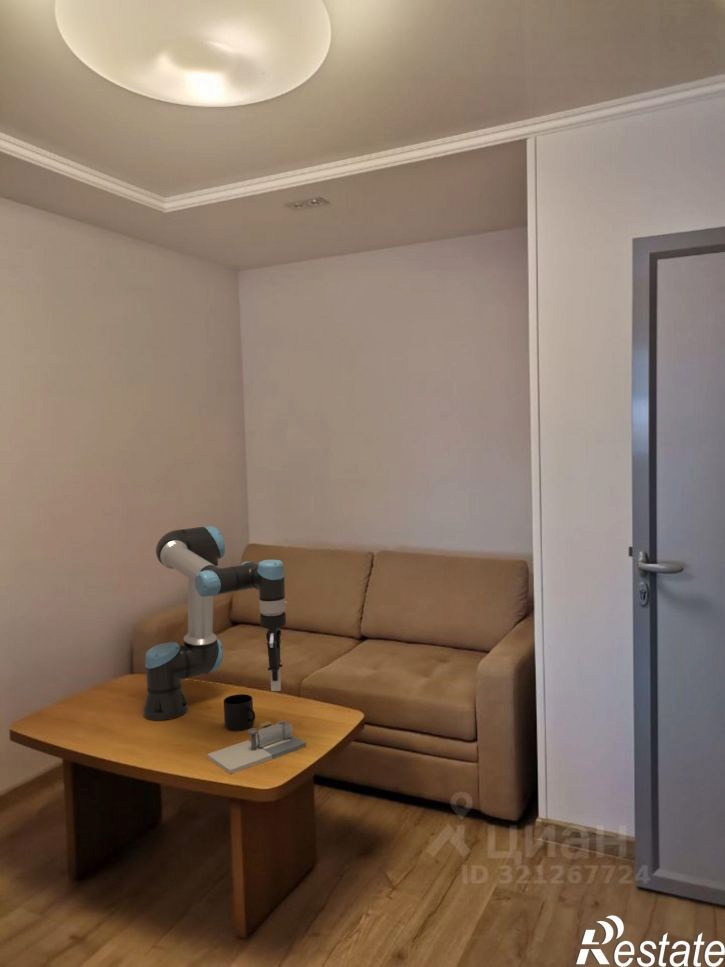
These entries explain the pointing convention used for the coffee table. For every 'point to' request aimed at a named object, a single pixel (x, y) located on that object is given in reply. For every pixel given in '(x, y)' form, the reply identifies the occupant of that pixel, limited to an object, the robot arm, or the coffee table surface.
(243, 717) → the mug
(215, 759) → the door board
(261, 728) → the block
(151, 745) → the coffee table surface
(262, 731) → the bar
